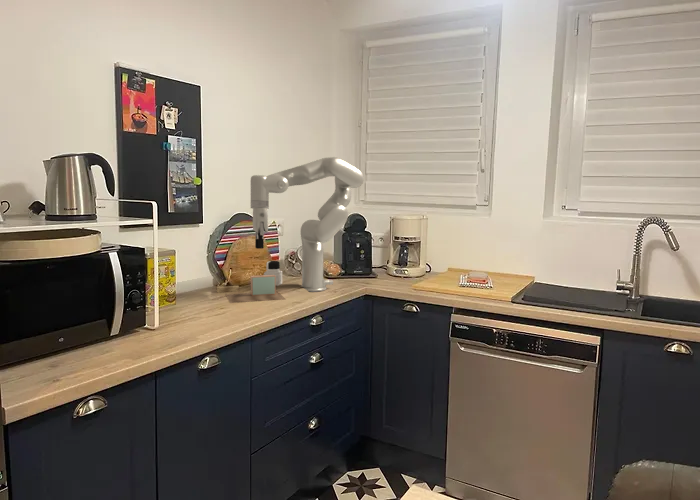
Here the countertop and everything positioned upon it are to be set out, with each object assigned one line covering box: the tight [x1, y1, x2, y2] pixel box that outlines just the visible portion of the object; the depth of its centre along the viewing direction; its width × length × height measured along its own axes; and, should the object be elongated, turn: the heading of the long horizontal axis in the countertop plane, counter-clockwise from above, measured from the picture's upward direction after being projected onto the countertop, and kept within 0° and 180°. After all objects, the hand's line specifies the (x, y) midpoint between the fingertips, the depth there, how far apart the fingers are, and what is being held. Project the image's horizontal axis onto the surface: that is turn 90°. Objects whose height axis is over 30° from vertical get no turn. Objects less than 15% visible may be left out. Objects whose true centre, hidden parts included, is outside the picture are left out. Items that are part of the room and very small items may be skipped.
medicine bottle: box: [263, 260, 283, 287], centre depth 241 cm, size 7×7×12 cm
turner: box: [216, 285, 240, 293], centre depth 225 cm, size 17×7×4 cm, turn 111°
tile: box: [250, 274, 277, 296], centre depth 217 cm, size 10×2×8 cm, turn 111°
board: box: [224, 290, 286, 304], centre depth 214 cm, size 22×16×2 cm
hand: (259, 248), depth 221 cm, fingers closed
